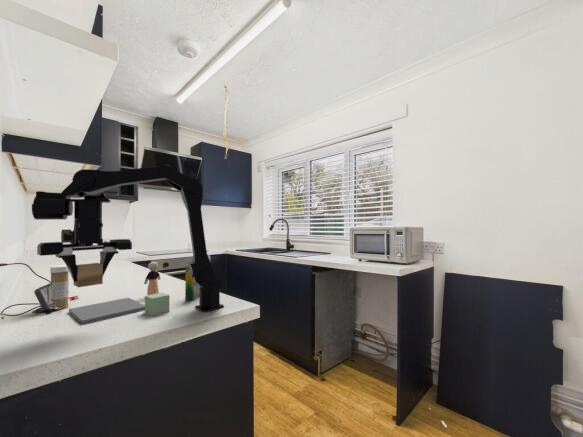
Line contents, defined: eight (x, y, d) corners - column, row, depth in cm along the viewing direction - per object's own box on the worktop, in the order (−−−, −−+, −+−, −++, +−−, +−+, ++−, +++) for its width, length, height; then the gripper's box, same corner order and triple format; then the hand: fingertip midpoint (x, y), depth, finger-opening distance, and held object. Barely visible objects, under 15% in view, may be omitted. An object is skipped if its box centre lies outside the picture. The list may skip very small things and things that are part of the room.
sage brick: (169, 311, 80) (169, 294, 80) (151, 316, 76) (151, 298, 76) (161, 308, 83) (161, 292, 83) (144, 312, 79) (144, 295, 79)
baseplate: (146, 309, 82) (146, 306, 82) (82, 324, 70) (82, 320, 70) (128, 300, 92) (128, 297, 92) (68, 312, 80) (68, 309, 80)
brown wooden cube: (102, 283, 69) (102, 264, 69) (78, 287, 65) (78, 266, 65) (97, 281, 72) (97, 262, 72) (73, 284, 68) (73, 265, 68)
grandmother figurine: (152, 299, 94) (152, 263, 94) (142, 299, 94) (142, 263, 94) (163, 293, 101) (163, 260, 102) (153, 293, 102) (153, 260, 102)
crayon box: (193, 300, 91) (193, 266, 91) (184, 300, 91) (184, 266, 91) (201, 295, 98) (201, 263, 99) (193, 295, 98) (193, 263, 99)
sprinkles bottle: (54, 306, 86) (54, 265, 86) (71, 305, 87) (71, 264, 88) (46, 311, 82) (47, 267, 82) (64, 309, 83) (65, 266, 83)
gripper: (118, 220, 81) (118, 271, 81) (34, 220, 67) (33, 282, 66) (132, 219, 74) (132, 275, 73) (41, 218, 60) (40, 288, 59)
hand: (88, 280), depth 68 cm, fingers closed on brown wooden cube, 5 cm apart
